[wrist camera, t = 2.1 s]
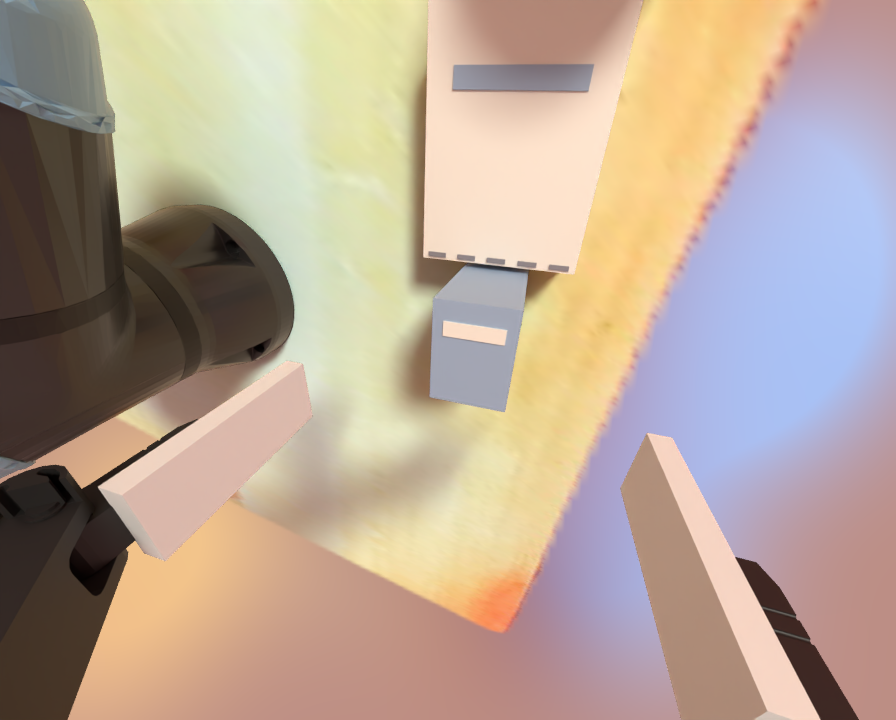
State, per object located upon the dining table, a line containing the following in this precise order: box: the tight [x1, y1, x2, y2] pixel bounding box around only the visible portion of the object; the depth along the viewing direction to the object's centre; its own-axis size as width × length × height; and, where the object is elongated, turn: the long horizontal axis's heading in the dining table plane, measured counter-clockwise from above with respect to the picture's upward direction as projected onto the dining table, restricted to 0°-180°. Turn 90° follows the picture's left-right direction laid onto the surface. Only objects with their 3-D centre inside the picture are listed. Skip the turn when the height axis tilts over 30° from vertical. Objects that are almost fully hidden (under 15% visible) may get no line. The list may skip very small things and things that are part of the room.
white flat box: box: [423, 0, 643, 274], centre depth 19 cm, size 10×13×4 cm
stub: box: [430, 262, 529, 412], centre depth 21 cm, size 4×6×11 cm
